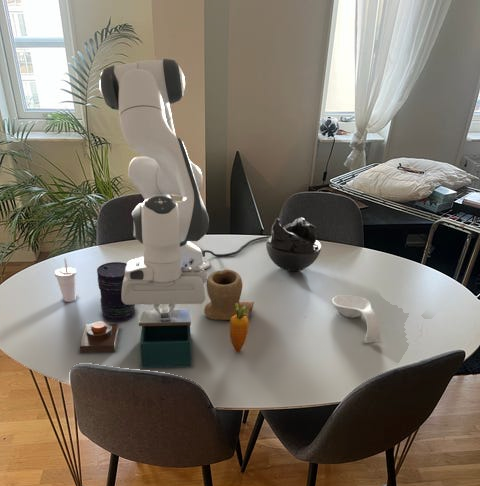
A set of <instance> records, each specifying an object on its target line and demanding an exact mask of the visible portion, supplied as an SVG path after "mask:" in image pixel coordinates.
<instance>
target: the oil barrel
mask: <svg viewBox="0 0 480 486" xmlns="http://www.w3.org/2000/svg"><path fill="white" fill-rule="evenodd" d="M126 265H127V263H126V262H121V261H112V262H111V261H110V262H106V263H103V264H101V265H99V266H98V267H97V269H96V274H97V286H98V289H99V292H100V308H101V309H100V310H101V312H102V318H103V319H104V320H105V321H107V322H111V323H123V322H127V321H129V320H131V319H133V318H134V317H135V315H136V310H135V308H136V307H135V306H136V304H135V305H126V304H124V303H123V302H122V284H123V280H124V276H125V267H126Z"/></svg>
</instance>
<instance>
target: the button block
mask: <svg viewBox="0 0 480 486" xmlns="http://www.w3.org/2000/svg"><path fill="white" fill-rule="evenodd" d="M104 323H105V326H106V331H104V332H102V333H94V332H93V331H92V324H93V323H86V324H85V326H84V330H83V333H82V336H81V339H80V343H79V346H78V347H79V352H80V354H84V353H85V354H89V353H116V348H117V345H118V344H117V343H118V338H119V334H120V333H119V332H120V325H119V324H120V323H119V322H111V323H107V322H104Z"/></svg>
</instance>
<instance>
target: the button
mask: <svg viewBox="0 0 480 486" xmlns="http://www.w3.org/2000/svg"><path fill="white" fill-rule="evenodd" d="M105 323H106V322H105V321H101V320H97V321H94V322H92V323H91V324H92V331H93V332H94V333H102V332H104V331H106V326H105Z"/></svg>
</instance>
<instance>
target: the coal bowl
mask: <svg viewBox="0 0 480 486" xmlns="http://www.w3.org/2000/svg"><path fill="white" fill-rule="evenodd" d="M316 231H317V228H316V226H315V225H313V224H312V223H309V222H308V221H306V219H305V218H304V217H303V216H301V217H298V218H296V219H294V221H293V222H292V223H287V224H286V225H284V226H282V224H281V219H280V218H278V217H277V218H276V219H275V220H274V223H273V224H272V227H271V233H270V234H271V235H270V236H271V237H269V238H266V241H265V247H266V252H267V254H268V257H269V258H270V260H271V261H272V262H273V264H274V265H276V266H277V267H279V268H280V269H282V270H285V271H289V272H297V271H302V270H306V269H307V268H308V267H310V266H311V265H312V264H314V262H316V260H317V259H318V258H319V255H320V253H321V250H322V244H321V243H320V242H319V240H317V239H316V238H317V235H316Z"/></svg>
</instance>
